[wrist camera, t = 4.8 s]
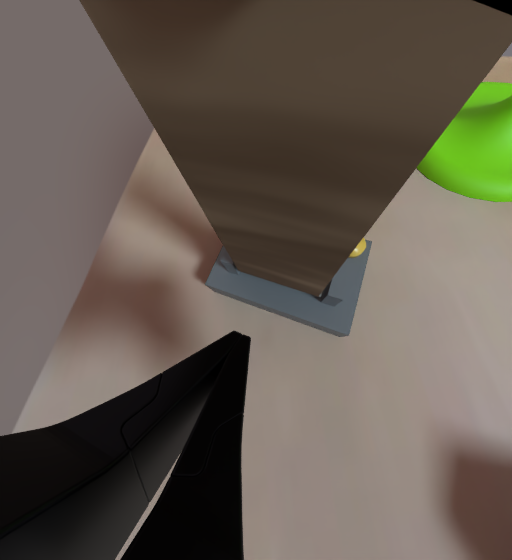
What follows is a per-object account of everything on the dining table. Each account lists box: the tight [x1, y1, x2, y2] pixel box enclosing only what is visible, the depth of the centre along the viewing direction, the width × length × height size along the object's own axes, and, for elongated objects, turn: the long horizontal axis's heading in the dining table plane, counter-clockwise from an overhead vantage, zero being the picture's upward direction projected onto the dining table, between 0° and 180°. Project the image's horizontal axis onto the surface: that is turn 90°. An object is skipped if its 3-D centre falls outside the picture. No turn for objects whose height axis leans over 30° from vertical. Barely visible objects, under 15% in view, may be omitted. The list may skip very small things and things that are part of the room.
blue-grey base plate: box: [205, 238, 372, 337], centre depth 17 cm, size 8×12×5 cm, turn 69°
